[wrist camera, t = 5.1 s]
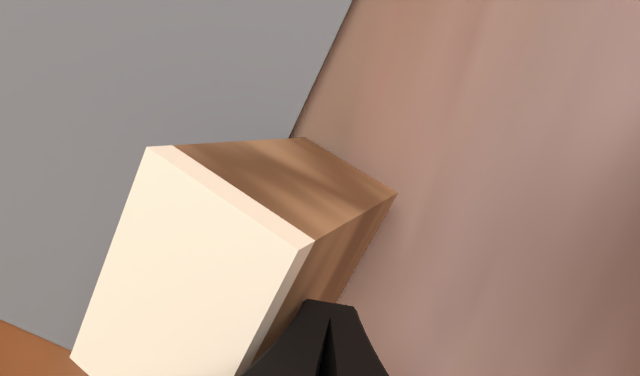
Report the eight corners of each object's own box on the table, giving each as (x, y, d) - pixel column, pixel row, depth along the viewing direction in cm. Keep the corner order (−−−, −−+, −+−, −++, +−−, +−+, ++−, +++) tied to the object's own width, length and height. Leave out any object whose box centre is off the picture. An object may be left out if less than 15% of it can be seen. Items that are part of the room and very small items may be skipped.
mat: (381, -62, 15) (382, -65, 15) (172, 387, 21) (169, 393, 21) (62, -230, 14) (54, -237, 14) (-60, 285, 20) (-68, 289, 20)
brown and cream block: (397, 192, 16) (298, 250, 9) (322, 325, 18) (187, 465, 10) (304, 137, 17) (146, 146, 10) (242, 267, 19) (69, 357, 12)
